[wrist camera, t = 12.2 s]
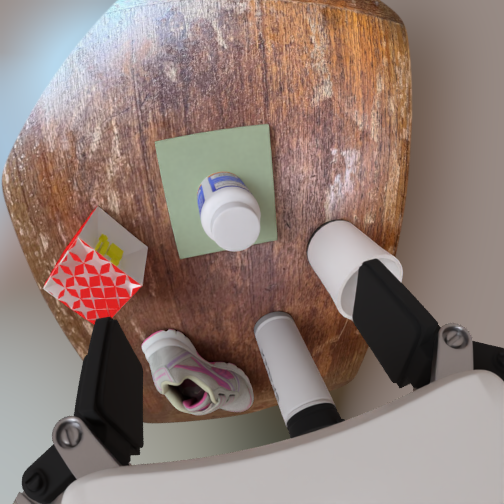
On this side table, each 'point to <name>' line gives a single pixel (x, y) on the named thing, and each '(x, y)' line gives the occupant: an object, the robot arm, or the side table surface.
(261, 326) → the travel mug
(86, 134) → the side table surface
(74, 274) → the red patterned cube box
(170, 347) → the running shoe
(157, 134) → the side table surface
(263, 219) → the mat
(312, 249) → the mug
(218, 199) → the pill bottle
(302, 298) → the side table surface
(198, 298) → the side table surface
